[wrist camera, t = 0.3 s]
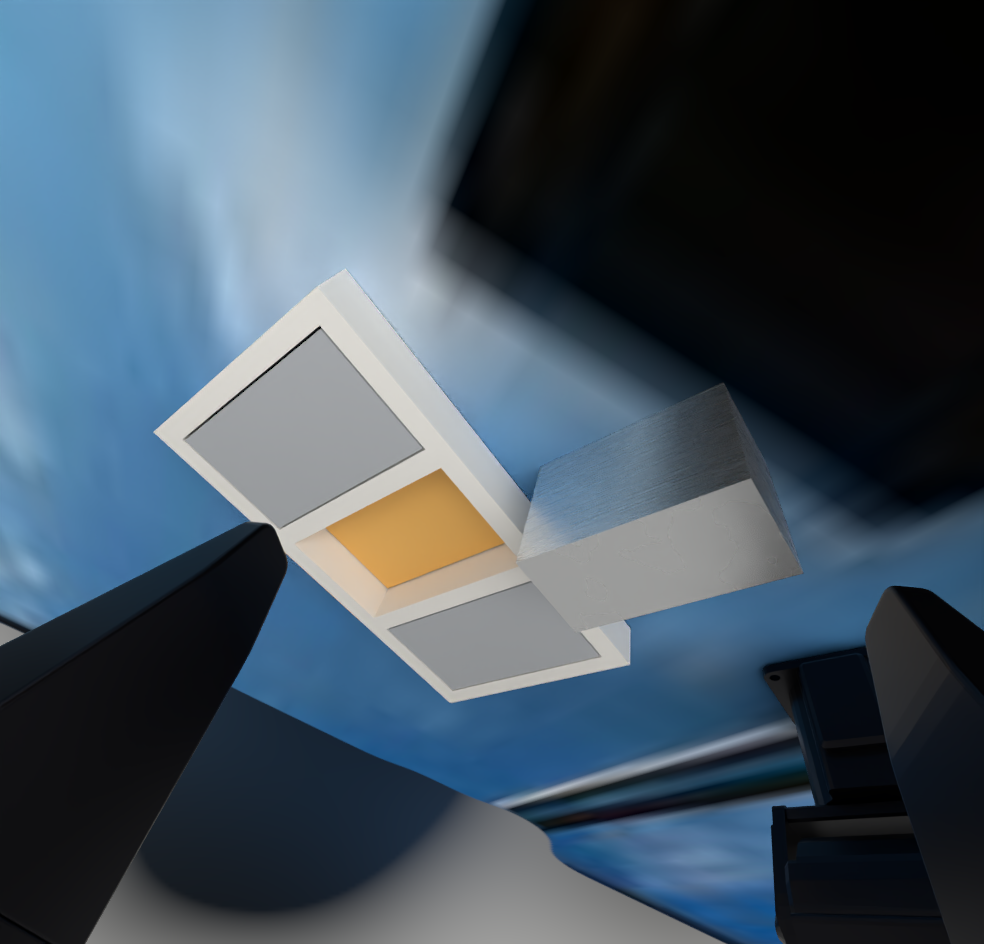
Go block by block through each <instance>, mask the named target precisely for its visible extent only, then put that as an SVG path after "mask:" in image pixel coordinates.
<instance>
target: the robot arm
mask: <svg viewBox="0 0 984 944" xmlns="http://www.w3.org/2000/svg"><path fill="white" fill-rule="evenodd" d="M287 565H288V562H287V557H286V554H285V552H284V550H283V547H282V545H281V542H280V540H279V537H278V535H277V533H276V530H275V528H274V527H273V526H272V525H271V524H268V523H262V522H245V523H243V524H241V525H239V526H237V527H235V528H233V529H231V530H229V531H227V532H225V533H223V534H221V535H219V536H217V537H215V538H213V539H211V540H209V541H207V542H205V543H203V544H201V545H199V546H197V547H195V548H193V549H191V550H189V551H187V552H185V553H183V554H181V555H179V556H177V557H175V558H173V559H171V560H169V561H167V562H166V563H164V564H162V565H160V566H158V567H156V568H154V569H152V570H150V571H148V572H146V573H144V574H142V575H140V576H138V577H136V578H134V579H132V580H130V581H128V582H126V583H124V584H122V585H120V586H118V587H116V588H114V589H112V590H110V591H108V592H106V593H104V594H102V595H100V596H98V597H96V598H94V599H92V600H90V601H88V602H86V603H85V604H83V605H81V606H79V607H77V608H75V609H73V610H71V611H69V612H67V613H65V614H63V615H61V616H59V617H57V618H55V619H53V620H51V621H49V622H47V623H45V624H43V625H41V626H39V627H37V628H35V629H33V630H31V631H29V632H27V633H25V634H23V635H21V636H19V637H18V638H16V639H14V640H11V641H9V642H7V643H5V644H4V645H2V646H0V944H85V943H86V942H87V940H88V938H89V936H90V934H91V933H92V931H93V929H94V927H95V926H96V924H97V922H98V921H99V919H100V917H101V915H102V914H103V912H104V910H105V908H106V906H107V904H108V903H109V901H110V899H111V898H112V896H113V894H114V892H115V890H116V889H117V887H118V885H119V883H120V882H121V880H122V878H123V876H124V875H125V873H126V871H127V869H128V868H129V866H130V864H131V862H132V861H133V859H134V857H135V855H136V854H137V852H138V850H139V848H140V847H141V845H142V843H143V841H144V839H145V838H146V836H147V834H148V832H149V831H150V829H151V827H152V825H153V824H154V822H155V820H156V818H157V816H158V815H159V813H160V811H161V809H162V808H163V806H164V804H165V802H166V801H167V799H168V797H169V795H170V793H171V792H172V790H173V788H174V786H175V785H176V783H177V781H178V779H179V778H180V776H181V774H182V772H183V771H184V769H185V767H186V765H187V763H188V762H189V760H190V758H191V757H192V755H193V753H194V751H195V749H196V748H197V746H198V744H199V742H200V741H201V739H202V737H203V735H204V734H205V732H206V730H207V728H208V727H209V725H210V723H211V721H212V720H213V718H214V716H215V714H216V712H217V711H218V709H219V707H220V706H221V704H222V702H223V700H224V698H225V697H226V695H227V693H228V691H229V690H230V688H231V686H232V684H233V683H234V681H235V679H236V677H237V676H238V674H239V672H240V670H241V669H242V667H243V665H244V663H245V661H246V659H247V657H248V656H249V654H250V652H251V650H252V647H253V645H254V643H255V641H256V639H257V637H258V635H259V632H260V630H261V628H262V626H263V623H264V621H265V619H266V617H267V615H268V612H269V610H270V608H271V606H272V603H273V601H274V599H275V597H276V594H277V592H278V590H279V588H280V585H281V583H282V581H283V579H284V576H285V574H286V571H287ZM865 641H866V647H865V648H860V649H854V650H849V651H844V652H838V653H833V654H827V655H822V656H817V657H811V658H806V659H801V660H795V661H790V662H784V663H779V664H774V665H769V666H766V667H764V668H763V670H762V671H763V675H764V679H765V681H766V682H767V684H768V685H769V687H770V688H771V690H772V691H773V693H774V694H775V696H776V697H777V699H778V700H779V702H780V703H781V705H782V706H783V708H784V709H785V711H786V712H787V714H788V715H789V717H790V718H791V719H792V721H793V722H794V724H795V725H796V729H797V733H798V737H799V741H800V745H801V749H802V753H803V757H804V761H805V765H806V769H807V773H808V777H809V781H810V785H811V789H812V793H813V797H814V802H815V806H802V807H788V808H787V807H786V806H785V805H784V806H773V807H772V817H773V825H771V835H772V854H773V873H774V892H775V911H776V918H775V928H776V932H777V935H778V938H779V939H780V941H781V942H782V943H783V944H984V631H983V630H982V629H981V628H979V627H978V626H977V625H975V624H974V623H973V622H971V621H970V620H969V619H967V618H966V617H965V616H963V615H962V614H961V613H960V612H958V611H957V610H956V609H954V608H953V607H952V606H950V605H949V604H948V603H946V602H945V601H944V600H942V599H941V598H940V597H938V596H937V595H936V594H934V593H933V592H931V591H929V590H927V589H923V588H914V587H904V586H890V587H888V588H887V589H886V590H885V591H884V593H883V594H882V596H881V598H880V600H879V603H878V605H877V607H876V609H875V611H874V613H873V615H872V617H871V619H870V621H869V624H868V626H867V629H866V636H865Z"/></svg>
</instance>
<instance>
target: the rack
mask: <svg viewBox="0 0 984 944" xmlns="http://www.w3.org/2000/svg"><path fill="white" fill-rule="evenodd" d="M319 327H321V329H320V330H318V331H317V332H316V333H315V334H314V335H312V336H311V337H310V338H309V339H307V340H306V341H305V342H304V343H303V344H301V345H300V346H299V347H298V348H297V349H295V350H294V351H293V352H292V353H290V354H289V355H288V356H287V357H286V358H284V359H283V360H282V361H281V362H279V363H278V364H277V365H276V366H275V367H273V368H272V369H271V370H270V371H269V372H267V373H266V374H265V375H264V376H262V377H261V378H260V379H259V380H258V381H256V382H255V383H254V384H253V385H252V386H250V387H249V388H248V389H247V390H245V391H244V392H243V393H242V394H241V395H239V396H238V397H237V398H236V399H234V400H233V401H232V402H231V403H230V404H228V405H227V406H226V407H225V408H224V409H222V410H221V411H220V412H219V413H217V414H216V415H215V416H213V415H214V414H215V413H216V412H218V411H219V410H220V409H221V408H222V407H224V406H225V405H226V404H227V403H229V402H230V401H231V400H232V399H233V398H235V397H236V396H237V395H238V394H239V393H241V392H242V391H243V390H244V389H246V388H247V387H248V386H249V385H250V384H252V383H253V382H254V381H255V380H256V379H258V378H259V377H260V376H261V375H262V374H264V373H265V372H266V371H267V370H269V369H270V368H271V367H272V366H273V365H275V364H276V363H277V362H278V361H279V360H281V359H282V358H283V357H284V356H286V355H287V354H288V353H289V352H290V351H292V350H293V349H294V348H295V347H296V346H298V345H299V344H300V343H301V342H302V341H304V340H305V339H306V338H307V337H309V336H310V335H311V334H312V333H313V332H315V331H316V330H317V329H318V328H319ZM154 433H155V434H156V435H157V436H158V437H159V438H161V439H162V440H163V441H164V442H165V443H166V444H167V445H168V446H169V447H170V448H171V449H173V450H174V451H175V452H176V453H177V454H178V455H179V456H180V457H181V458H182V459H183V460H185V461H186V462H187V463H188V464H189V465H190V466H191V467H192V468H193V469H194V470H196V471H197V472H198V473H199V474H200V475H201V476H202V477H203V478H204V479H205V480H206V481H208V482H209V483H210V484H211V485H212V486H213V487H214V488H215V489H216V490H217V491H219V492H220V493H221V494H222V495H223V496H224V497H225V498H226V499H227V500H228V501H229V502H231V503H232V504H233V505H234V506H235V507H236V508H237V509H238V510H239V511H240V512H242V513H243V514H244V515H245V516H246V517H247V518H248V519H249V520H250V521H251V522H262V523H268V524H271V525H272V526H273V527H274V528H275V530H276V533H277V535H278V537H279V540H280V542H281V545H282V547H283V550H284V552H285V553H286V554H287V555H288V556H289V557H290V558H292V559H293V560H294V561H295V562H296V563H297V564H298V565H299V566H300V567H301V568H303V569H304V570H305V571H306V572H307V573H308V574H309V575H310V576H311V577H312V578H313V579H315V580H316V581H317V582H318V583H319V584H320V585H321V586H322V587H323V588H324V589H326V590H327V591H328V592H329V593H330V594H331V595H332V596H333V597H334V598H335V599H336V600H338V601H339V602H340V603H341V604H342V605H343V606H344V607H345V608H346V609H347V610H349V611H350V612H351V613H352V614H353V615H354V616H355V617H356V618H357V619H358V620H359V621H361V622H362V623H363V624H364V625H365V626H366V627H367V628H369V629H370V630H371V631H372V632H373V633H374V634H375V635H376V636H377V637H378V638H379V639H381V640H382V641H383V642H384V643H385V644H386V645H387V646H388V647H389V648H390V649H392V650H393V651H394V652H395V653H396V654H397V655H398V656H399V657H400V658H401V659H402V660H404V661H405V662H406V663H407V664H408V665H409V666H410V667H411V668H412V669H413V670H414V671H416V672H417V673H418V674H419V675H420V676H421V677H422V678H423V679H424V680H425V681H427V682H428V683H429V684H430V685H431V686H432V687H433V688H434V689H435V690H436V691H437V692H439V693H440V694H441V695H442V696H443V697H444V698H445V699H446V700H447V701H448V702H450V703H453V702H458V701H463V700H467V699H472V698H477V697H481V696H486V695H491V694H496V693H500V692H505V691H510V690H514V689H519V688H524V687H528V686H533V685H538V684H542V683H547V682H552V681H556V680H561V679H566V678H571V677H575V676H580V675H585V674H589V673H594V672H599V671H603V670H608V669H613V668H617V667H622V666H627V665H630V634H631V629H630V627H629V626H628V625H627V624H626V622H625V621H624V620H622V621H619V622H615V623H611V624H607V625H603V626H599V627H596V628H592V629H588V630H584V631H580V632H576V633H575V631H574V630H573V629H572V628H571V627H570V626H569V624H568V623H567V622H566V621H565V620H564V619H563V617H562V616H561V615H560V614H559V613H558V612H557V610H556V609H555V608H554V607H553V606H552V605H551V603H550V602H549V601H548V600H547V599H546V598H545V596H544V595H543V594H542V593H541V592H540V591H539V589H538V588H537V587H536V586H535V585H534V584H533V583H532V581H531V580H530V579H529V578H528V577H527V576H526V574H525V573H524V572H523V571H522V570H521V569H520V567H519V566H518V565H517V564H516V560H517V556H518V552H519V548H520V544H521V540H522V537H523V533H524V529H525V525H526V521H527V517H528V513H529V509H530V505H531V502H530V501H529V500H528V498H527V497H526V496H525V495H524V493H523V492H522V491H521V490H520V488H519V487H518V486H517V485H516V483H515V482H514V481H513V479H512V478H511V477H510V476H509V474H508V473H507V472H506V471H505V469H504V468H503V467H502V466H501V464H500V463H499V462H498V461H497V459H496V458H495V457H494V455H493V454H492V453H491V452H490V450H489V449H488V448H487V447H486V445H485V444H484V443H483V442H482V440H481V439H480V438H479V437H478V435H477V434H476V433H475V431H474V430H473V429H472V428H471V426H470V425H469V424H468V423H467V421H466V420H465V419H464V418H463V416H462V415H461V414H460V413H459V411H458V410H457V409H456V407H455V406H454V405H453V404H452V402H451V401H450V400H449V399H448V397H447V396H446V395H445V394H444V392H443V391H442V390H441V388H440V387H439V386H438V385H437V383H436V382H435V381H434V380H433V378H432V377H431V376H430V375H429V373H428V372H427V371H426V370H425V368H424V367H423V366H422V364H421V363H420V362H419V361H418V359H417V358H416V357H415V356H414V354H413V353H412V352H411V351H410V349H409V348H408V347H407V346H406V344H405V343H404V342H403V340H402V339H401V338H400V337H399V335H398V334H397V333H396V332H395V330H394V329H393V328H392V327H391V325H390V324H389V323H388V321H387V320H386V319H385V318H384V316H383V315H382V314H381V313H380V311H379V310H378V309H377V308H376V306H375V305H374V304H373V303H372V301H371V300H370V299H369V297H368V296H367V295H366V294H365V292H364V291H363V290H362V289H361V287H360V286H359V285H358V284H357V282H356V281H355V280H354V279H353V277H352V276H351V275H350V273H349V272H348V271H347V270H346V268H345V269H344V270H342V271H340V272H339V273H337V274H336V275H334V276H333V277H331V278H329V279H328V280H326V281H325V282H323V283H321V284H320V285H318V286H317V287H316V288H315V289H313V290H312V291H311V292H310V293H309V294H308V295H307V296H306V297H305V298H303V299H302V300H301V301H300V302H299V303H298V304H297V305H296V306H294V307H293V308H292V309H291V310H290V311H289V312H288V313H287V314H285V315H284V316H283V317H282V318H281V319H280V320H279V321H278V322H276V323H275V324H274V325H273V326H272V327H271V328H270V329H269V330H267V331H266V332H265V333H264V334H263V335H262V336H261V337H260V338H258V339H257V340H256V341H255V342H254V343H253V344H252V345H251V346H250V347H248V348H247V349H246V350H245V351H244V352H243V353H242V354H241V355H239V356H238V357H237V358H236V359H235V360H234V361H233V362H232V363H230V364H229V365H228V366H227V367H226V368H225V369H224V370H223V371H221V372H220V373H219V374H218V375H217V376H216V377H215V378H214V379H212V380H211V381H210V382H209V383H208V384H207V385H206V386H205V387H203V388H202V389H201V390H200V391H199V392H198V393H197V394H196V395H194V396H193V397H192V398H191V399H190V400H189V401H188V402H187V403H186V404H184V405H183V406H182V407H181V408H180V409H179V410H178V411H177V412H175V413H174V414H173V415H172V416H171V417H170V418H169V419H168V420H166V421H165V422H164V423H163V424H162V425H161V426H160V427H159V428H157V429H156V430H155V431H154Z"/></svg>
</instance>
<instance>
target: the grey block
mask: <svg viewBox="0 0 984 944" xmlns="http://www.w3.org/2000/svg"><path fill="white" fill-rule="evenodd" d="M516 564H517V565H518V566H519V567H520V569H521V570H522V571H523V572H524V573H525V574H526V576H527V577H528V578H529V579H530V580H531V581H532V583H533V584H534V585H535V586H536V587H537V588H538V589H539V591H540V592H541V593H542V594H543V595H544V596H545V598H546V599H547V600H548V601H549V602H550V603H551V605H552V606H553V607H554V608H555V609H556V610H557V612H558V613H559V614H560V615H561V616H562V617H563V619H564V620H565V621H566V622H567V623H568V624H569V626H570V627H571V628H572V629H573V630H574V631H575V633H576V632H580V631H584V630H588V629H592V628H596V627H599V626H603V625H607V624H611V623H615V622H619V621H622V620H626V619H630V618H634V617H638V616H642V615H645V614H649V613H653V612H657V611H661V610H665V609H669V608H672V607H676V606H680V605H684V604H688V603H692V602H695V601H699V600H703V599H707V598H711V597H715V596H718V595H722V594H726V593H730V592H734V591H738V590H741V589H745V588H749V587H753V586H757V585H761V584H764V583H768V582H772V581H776V580H780V579H784V578H787V577H791V576H795V575H799V574H803V570H802V567H801V564H800V561H799V558H798V555H797V552H796V549H795V547H794V544H793V541H792V538H791V535H790V532H789V529H788V526H787V523H786V520H785V517H784V514H783V511H782V508H781V505H780V502H779V499H778V496H777V494H776V491H775V488H774V485H773V482H772V479H771V476H770V473H769V470H768V467H767V464H766V462H765V460H764V458H763V456H762V454H761V452H760V450H759V449H758V447H757V445H756V443H755V441H754V439H753V437H752V435H751V433H750V432H749V430H748V428H747V426H746V424H745V422H744V420H743V418H742V417H741V415H740V413H739V411H738V409H737V407H736V405H735V403H734V402H733V400H732V398H731V396H730V394H729V392H728V390H727V388H726V386H725V385H724V383H720V384H718V385H716V386H714V387H712V388H710V389H707V390H705V391H703V392H701V393H699V394H697V395H694V396H692V397H690V398H688V399H686V400H683V401H681V402H679V403H677V404H675V405H673V406H670V407H668V408H666V409H664V410H662V411H660V412H657V413H655V414H653V415H651V416H649V417H647V418H644V419H642V420H640V421H638V422H636V423H634V424H631V425H629V426H627V427H625V428H623V429H620V430H618V431H616V432H614V433H612V434H610V435H607V436H605V437H603V438H601V439H599V440H597V441H594V442H592V443H590V444H588V445H586V446H584V447H581V448H579V449H577V450H575V451H573V452H571V453H568V454H566V455H564V456H562V457H560V458H557V459H555V460H553V461H551V462H549V463H547V464H544V465H542V466H540V470H539V474H538V478H537V482H536V485H535V489H534V493H533V497H532V501H531V505H530V509H529V513H528V517H527V521H526V525H525V529H524V533H523V537H522V540H521V544H520V548H519V552H518V556H517V560H516Z"/></svg>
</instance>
